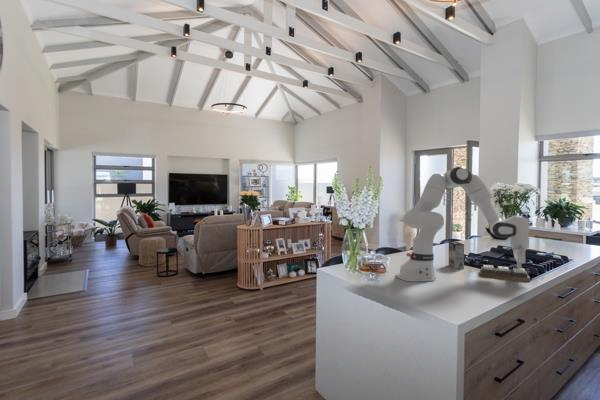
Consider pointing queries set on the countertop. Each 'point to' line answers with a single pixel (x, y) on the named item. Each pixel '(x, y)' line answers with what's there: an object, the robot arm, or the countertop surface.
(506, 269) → the button one
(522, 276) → the button board
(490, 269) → the button three
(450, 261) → the coffee box
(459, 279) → the countertop surface
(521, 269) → the button two
